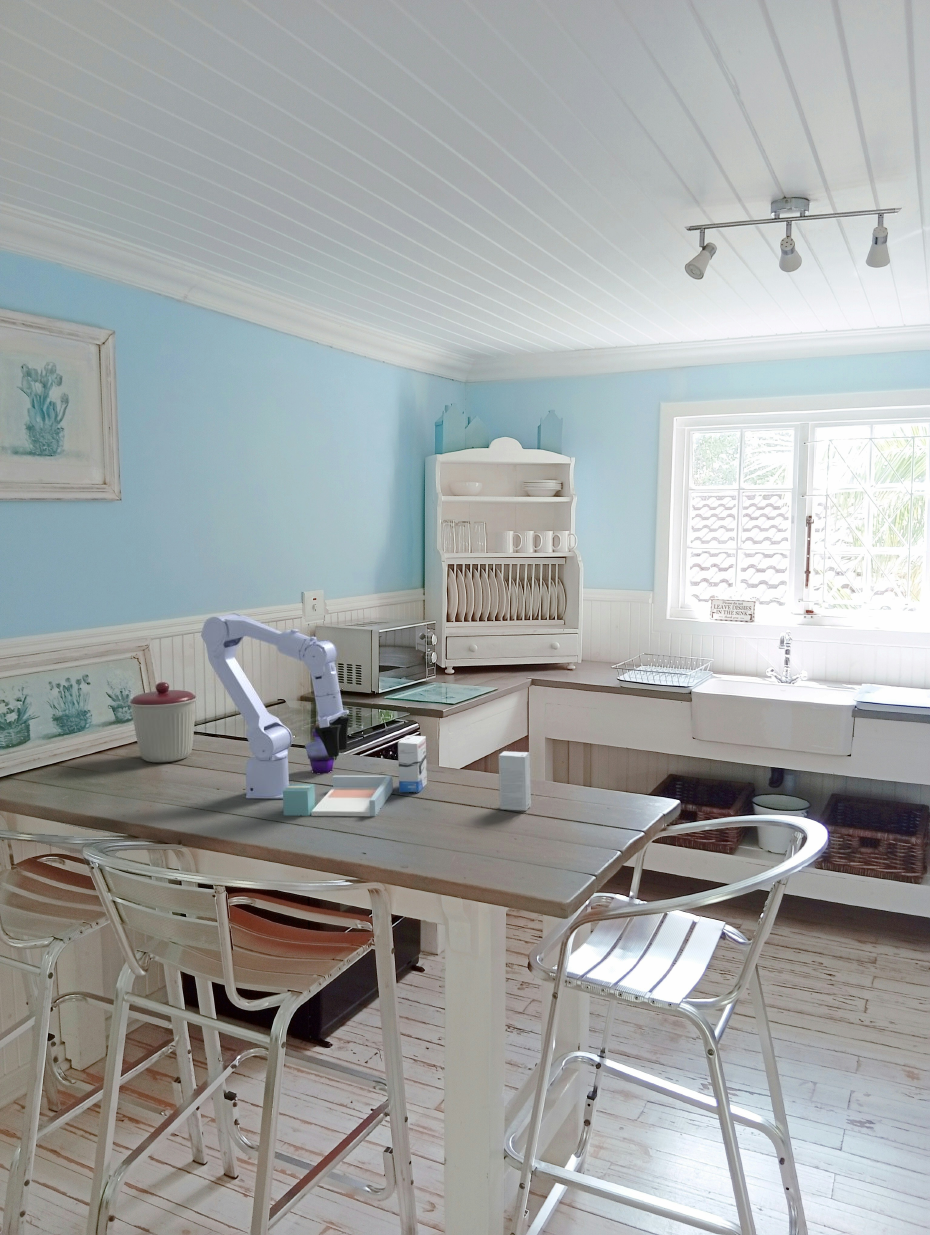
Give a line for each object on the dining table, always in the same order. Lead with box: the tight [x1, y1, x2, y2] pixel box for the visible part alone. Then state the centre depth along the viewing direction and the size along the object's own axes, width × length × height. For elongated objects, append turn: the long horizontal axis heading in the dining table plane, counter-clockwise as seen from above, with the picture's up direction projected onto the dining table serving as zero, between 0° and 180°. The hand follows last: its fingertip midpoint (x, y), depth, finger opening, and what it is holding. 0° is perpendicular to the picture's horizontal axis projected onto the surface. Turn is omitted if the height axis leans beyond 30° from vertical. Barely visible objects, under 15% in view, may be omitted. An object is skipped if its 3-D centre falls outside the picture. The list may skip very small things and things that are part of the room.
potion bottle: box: [304, 723, 338, 775], centre depth 245 cm, size 9×9×12 cm
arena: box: [311, 774, 394, 817], centre depth 217 cm, size 14×20×4 cm
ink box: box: [397, 734, 428, 794], centre depth 227 cm, size 8×5×12 cm, turn 168°
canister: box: [127, 681, 199, 764], centre depth 263 cm, size 18×18×21 cm
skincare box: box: [497, 750, 532, 812], centre depth 210 cm, size 6×4×12 cm
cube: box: [282, 783, 316, 817], centre depth 211 cm, size 6×6×6 cm
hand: (338, 753), depth 219 cm, fingers open, 7 cm apart
